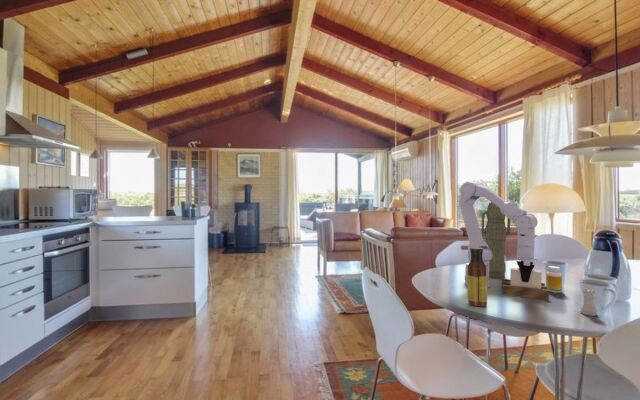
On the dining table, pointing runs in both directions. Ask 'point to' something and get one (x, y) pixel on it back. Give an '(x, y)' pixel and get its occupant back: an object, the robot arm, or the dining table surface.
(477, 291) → the sauce bottle
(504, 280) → the rack
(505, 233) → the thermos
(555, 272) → the supplement bottle
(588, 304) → the rook chess piece
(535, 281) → the beige rectangular block
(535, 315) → the dining table surface
